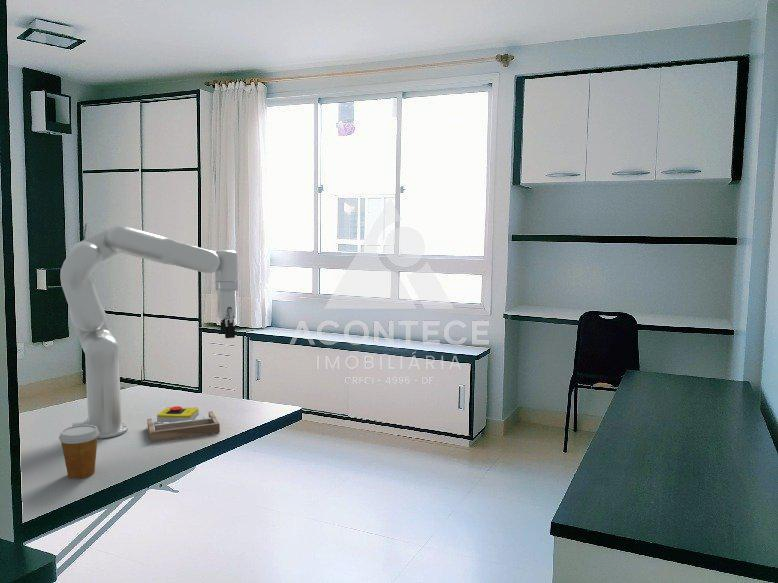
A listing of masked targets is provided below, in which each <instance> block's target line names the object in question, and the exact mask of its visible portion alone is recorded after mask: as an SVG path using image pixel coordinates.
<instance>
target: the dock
mask: <svg viewBox="0 0 778 583" xmlns="http://www.w3.org/2000/svg"><path fill="white" fill-rule="evenodd" d="M210 417H211V424H204V425H196V426H189V427H181V428H173V429H165V430H157V431H155V427H154V425H153V424H154V423H153V421H152V418H147V419H146V420H147V422H146V423H147V424H146V425H147V432H148V435H149V436H150V437H149V440H150V443H154V442H155V441H156V442H163V441H162V440H164V441H169V440H170V439H171V440H177V438H179V439H184V438H183V437H186V438H190V436H194V437H198V436H197V435H201V436H205V434H208V435H213V434H212V433H216V434H220V433H219V432H220V430H221V429H220V428H221V427H220V423H219V420H218V419H217V416H216V415H215V414H214V412H213V411H208V418H210ZM156 442H155V443H156Z"/></svg>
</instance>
